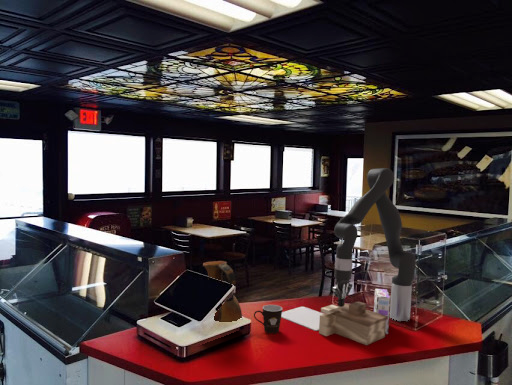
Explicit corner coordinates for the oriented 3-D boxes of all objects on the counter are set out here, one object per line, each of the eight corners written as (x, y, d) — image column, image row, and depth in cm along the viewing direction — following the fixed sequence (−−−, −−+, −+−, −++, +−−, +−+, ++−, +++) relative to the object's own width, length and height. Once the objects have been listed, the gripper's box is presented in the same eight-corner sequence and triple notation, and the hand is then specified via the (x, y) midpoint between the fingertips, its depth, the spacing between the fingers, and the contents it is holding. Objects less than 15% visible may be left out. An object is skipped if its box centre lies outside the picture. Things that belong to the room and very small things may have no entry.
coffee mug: (283, 328, 191) (284, 306, 190) (278, 335, 183) (279, 312, 182) (258, 324, 194) (259, 302, 194) (252, 331, 186) (253, 308, 186)
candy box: (388, 334, 189) (390, 297, 188) (374, 332, 191) (376, 296, 190) (385, 323, 203) (387, 289, 202) (372, 322, 204) (374, 287, 203)
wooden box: (346, 323, 201) (347, 306, 200) (384, 337, 186) (386, 318, 186) (318, 333, 187) (319, 315, 187) (358, 349, 173) (359, 329, 172)
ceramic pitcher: (215, 319, 199) (218, 254, 197) (251, 330, 187) (254, 262, 185) (185, 331, 183) (187, 261, 181) (221, 344, 171) (224, 270, 169)
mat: (302, 307, 221) (302, 306, 221) (342, 321, 203) (343, 320, 203) (275, 315, 208) (275, 314, 208) (315, 331, 190) (315, 330, 190)
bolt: (332, 308, 192) (332, 304, 192) (339, 310, 189) (339, 306, 189) (320, 311, 187) (320, 308, 187) (328, 314, 184) (328, 310, 184)
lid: (346, 308, 201) (347, 294, 201) (387, 321, 186) (388, 307, 185) (326, 314, 191) (327, 300, 190) (368, 329, 175) (369, 314, 175)
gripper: (345, 264, 200) (342, 301, 201) (327, 268, 191) (325, 306, 192) (359, 267, 194) (356, 305, 195) (341, 271, 185) (339, 311, 186)
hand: (341, 306), depth 194 cm, fingers closed
